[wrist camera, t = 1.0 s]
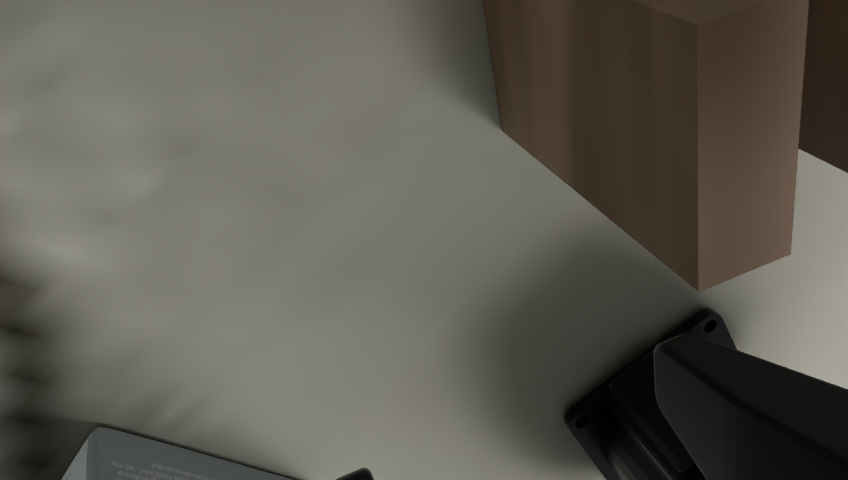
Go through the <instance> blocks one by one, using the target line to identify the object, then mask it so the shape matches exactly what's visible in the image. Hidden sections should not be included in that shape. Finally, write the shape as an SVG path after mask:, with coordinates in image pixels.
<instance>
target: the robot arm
mask: <svg viewBox="0 0 848 480" xmlns="http://www.w3.org/2000/svg"><path fill="white" fill-rule="evenodd" d="M564 422H565V424H566V426H567V427H568V428H569V430H570V431H571V432H572V434H573V435H574V436H575V438H576V439H577V440H578V442H579V443H580V444H581V446H582V447H583V448H584V450H585V451H586V452H587V454H588V455H589V456H590V458H591V459H592V460H593V462H594V463H595V464H596V466H597V467H598V468H599V470H600V471H601V472H602V474H603V475H604V476H605V478H606V479H607V480H848V389H845V388H842V387H839V386H836V385H834V384H831V383H828V382H825V381H822V380H819V379H817V378H814V377H811V376H808V375H805V374H803V373H800V372H797V371H794V370H791V369H788V368H786V367H783V366H780V365H777V364H774V363H772V362H769V361H766V360H763V359H760V358H757V357H755V356H752V355H749V354H746V353H743V352H741V351H738V350H737V349H736V347H735V344H734V342H733V340H732V338H731V336H730V334H729V332H728V329H727V327H726V325H725V323H724V321H723V319H722V317H721V316H720V315H719V314H718V313H716V312H715V311H714V310H713V309H710V308H706V309H702V310H701V311H699V312H698V313H696V314H695V315H694V316H692V317H691V318H690V319H688V320H687V321H685V322H684V323H683V324H681V325H680V326H679V327H677V328H676V329H675V330H673V331H672V332H671V333H669V334H668V335H667V336H665V337H664V338H663V339H661V340H660V341H659V342H657V343H656V344H655V345H653V346H652V347H651V348H649V349H648V350H647V351H645V352H644V353H643V354H641V355H640V356H639V357H637V358H636V359H635V360H633V361H632V362H631V363H629V364H628V365H627V366H625V367H624V368H623V369H621V370H620V371H619V372H617V373H616V374H615V375H613V376H612V377H611V378H609V379H608V380H606V381H605V382H604V383H602V384H601V385H600V386H598V387H597V388H596V389H594V390H593V391H592V392H590V393H589V394H588V395H586V396H585V397H584V398H582V399H581V400H580V401H578V402H577V403H576V404H574V405H573V406H572V407H570V408H569V409H568V410H567V412H566V413H565V415H564ZM336 480H374V479H373V476H372V474H371V472H370V470H368V469H367V468H361V469H359V470H357V471H354V472H352V473H349V474H347V475H345V476H342V477H340V478H338V479H336Z"/></svg>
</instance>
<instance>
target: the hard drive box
mask: <svg viewBox="0 0 848 480" xmlns="http://www.w3.org/2000/svg"><path fill="white" fill-rule="evenodd" d="M61 480H293V479H289V478H286V477H282V476H279V475H275V474H271V473H268V472H264V471H261V470H257V469H254V468H250V467H247V466H244V465H240V464H237V463H233V462H230V461H226V460H223V459H219V458H215V457H212V456H208V455H205V454H201V453H198V452H194V451H191V450H187V449H184V448H180V447H177V446H173V445H169V444H165V443H161V442H158V441H154V440H150V439H147V438H143V437H139V436H136V435H132V434H129V433H125V432H121V431H118V430H114V429H110V428H105V427H98V428H96V429H95V430H94V431H92V433H91V434H90V436H89V437H88V438H87V440H86V441H85V443H84V444H83V446H82V447H81V449H80V451H79V452H78V454H77V455H76V457H75V458H74V460H73V461H72V463H71V465H70V466H69V468H68V469H67V471H66V473H65V474H64V476H63V477H62V479H61Z"/></svg>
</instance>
